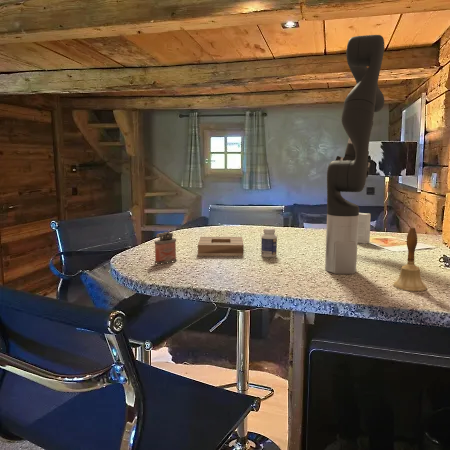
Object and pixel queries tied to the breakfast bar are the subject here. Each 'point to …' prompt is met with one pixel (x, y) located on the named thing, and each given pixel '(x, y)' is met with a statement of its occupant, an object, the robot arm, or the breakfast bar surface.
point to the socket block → (220, 246)
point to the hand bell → (410, 268)
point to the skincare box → (364, 228)
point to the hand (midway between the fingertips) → (346, 185)
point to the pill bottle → (269, 243)
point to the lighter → (165, 248)
